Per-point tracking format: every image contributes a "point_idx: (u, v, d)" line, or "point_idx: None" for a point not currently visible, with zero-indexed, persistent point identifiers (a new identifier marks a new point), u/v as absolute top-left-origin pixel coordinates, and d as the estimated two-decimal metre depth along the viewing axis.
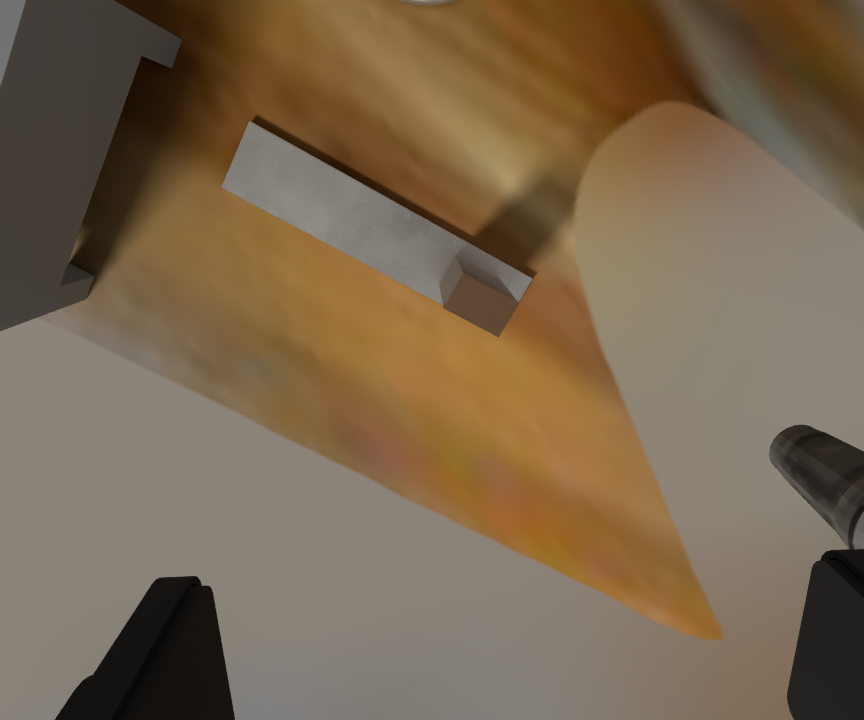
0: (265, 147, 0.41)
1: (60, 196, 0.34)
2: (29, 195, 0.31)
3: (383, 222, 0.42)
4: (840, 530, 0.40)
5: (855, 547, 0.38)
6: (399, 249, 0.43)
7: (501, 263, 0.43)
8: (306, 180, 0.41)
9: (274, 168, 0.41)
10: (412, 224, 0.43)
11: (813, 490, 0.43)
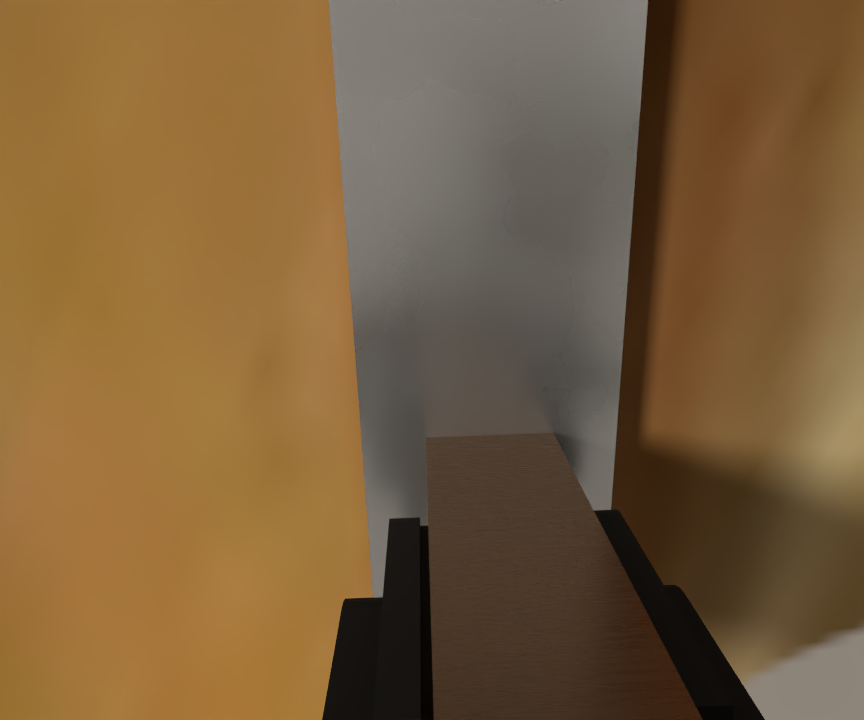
0: None
1: None
2: None
3: (538, 115, 0.10)
4: None
5: None
6: (469, 237, 0.10)
7: None
8: None
9: None
10: (586, 231, 0.10)
11: None
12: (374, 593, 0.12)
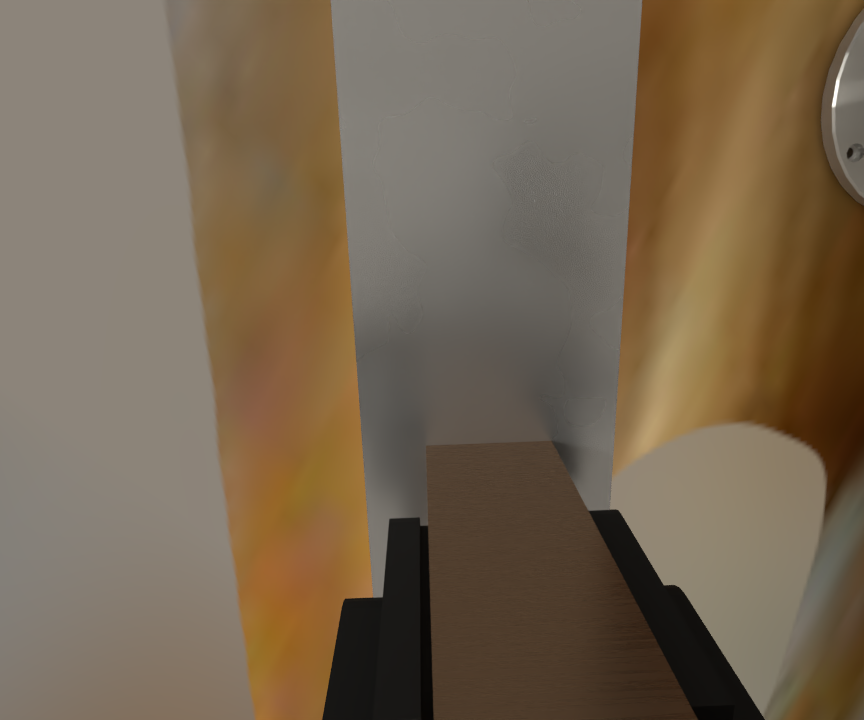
0: None
1: None
2: None
3: (535, 130, 0.10)
4: None
5: None
6: (468, 248, 0.10)
7: None
8: None
9: None
10: (582, 243, 0.10)
11: None
12: None
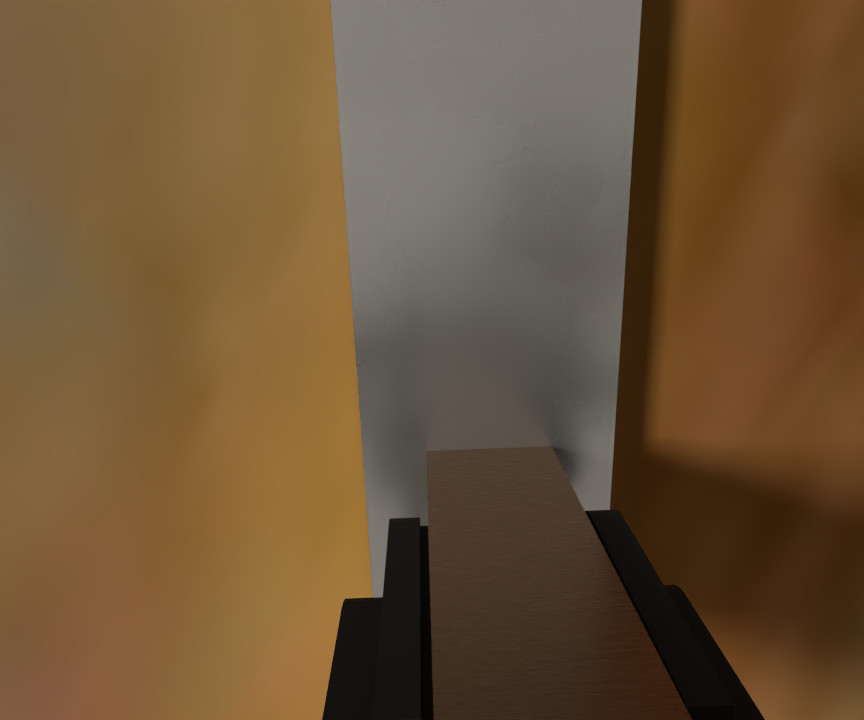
0: None
1: None
2: None
3: (535, 137, 0.10)
4: None
5: None
6: (467, 254, 0.10)
7: None
8: None
9: None
10: (582, 249, 0.10)
11: None
12: None
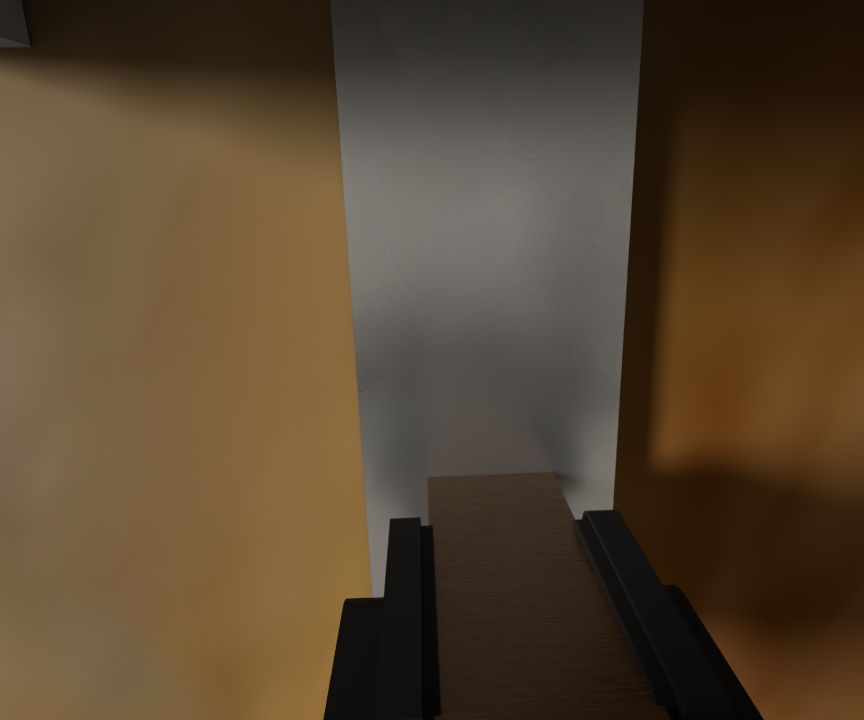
0: None
1: None
2: None
3: (536, 167, 0.10)
4: None
5: None
6: (469, 282, 0.10)
7: None
8: None
9: None
10: (583, 278, 0.11)
11: None
12: None
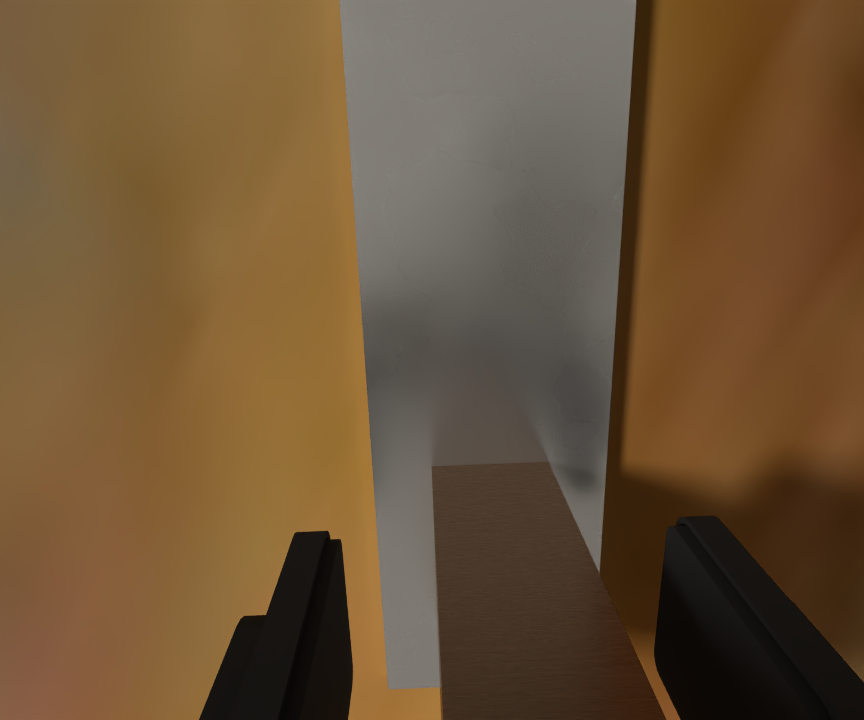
0: None
1: None
2: None
3: (534, 179, 0.11)
4: None
5: None
6: (470, 286, 0.11)
7: None
8: None
9: None
10: (577, 281, 0.11)
11: None
12: (383, 608, 0.14)
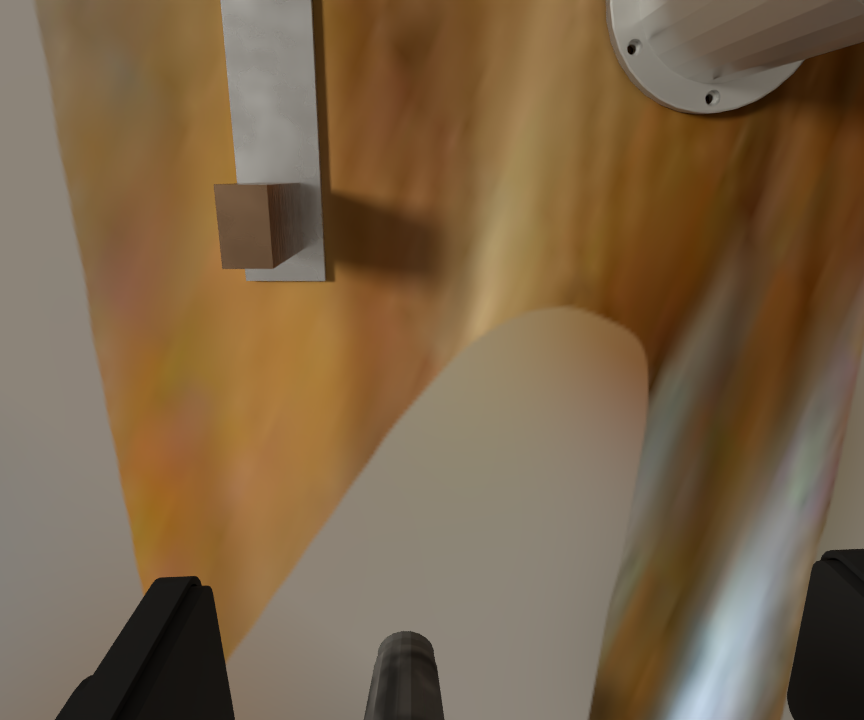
0: None
1: None
2: None
3: (285, 78, 0.34)
4: None
5: None
6: (267, 114, 0.34)
7: (320, 238, 0.36)
8: None
9: None
10: (303, 114, 0.34)
11: (382, 702, 0.40)
12: None
